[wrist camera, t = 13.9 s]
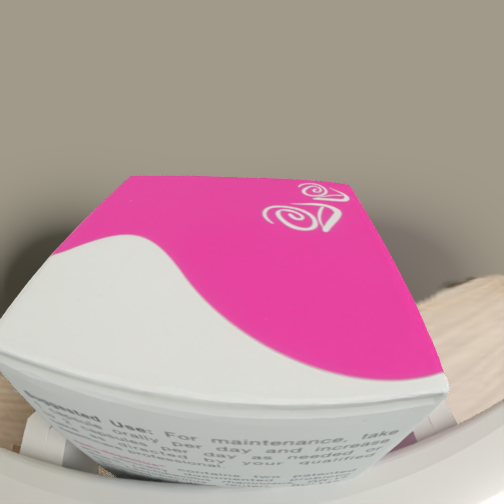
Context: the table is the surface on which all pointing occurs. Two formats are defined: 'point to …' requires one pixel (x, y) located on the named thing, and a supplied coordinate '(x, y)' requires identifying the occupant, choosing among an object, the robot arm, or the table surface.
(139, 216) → the supplement box
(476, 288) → the table surface
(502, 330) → the table surface
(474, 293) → the table surface
